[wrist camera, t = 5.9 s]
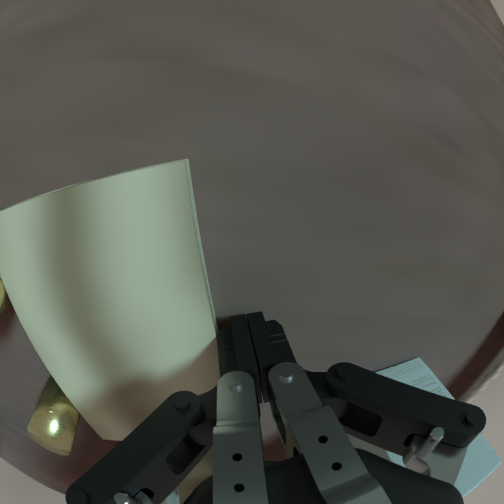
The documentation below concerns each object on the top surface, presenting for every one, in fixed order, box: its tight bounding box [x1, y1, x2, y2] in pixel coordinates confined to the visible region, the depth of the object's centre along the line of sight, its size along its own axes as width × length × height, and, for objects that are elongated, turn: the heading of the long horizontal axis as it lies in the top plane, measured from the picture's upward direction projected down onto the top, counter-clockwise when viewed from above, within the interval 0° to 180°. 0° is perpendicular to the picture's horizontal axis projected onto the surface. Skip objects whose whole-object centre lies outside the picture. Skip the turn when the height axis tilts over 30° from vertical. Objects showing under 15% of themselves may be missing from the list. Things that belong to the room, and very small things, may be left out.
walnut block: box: [179, 446, 213, 504], centre depth 16 cm, size 5×5×6 cm
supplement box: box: [346, 357, 502, 498], centre depth 13 cm, size 7×7×13 cm
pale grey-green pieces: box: [0, 159, 220, 441], centre depth 12 cm, size 10×16×2 cm, turn 6°
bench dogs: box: [0, 276, 81, 455], centre depth 10 cm, size 3×12×5 cm, turn 6°
